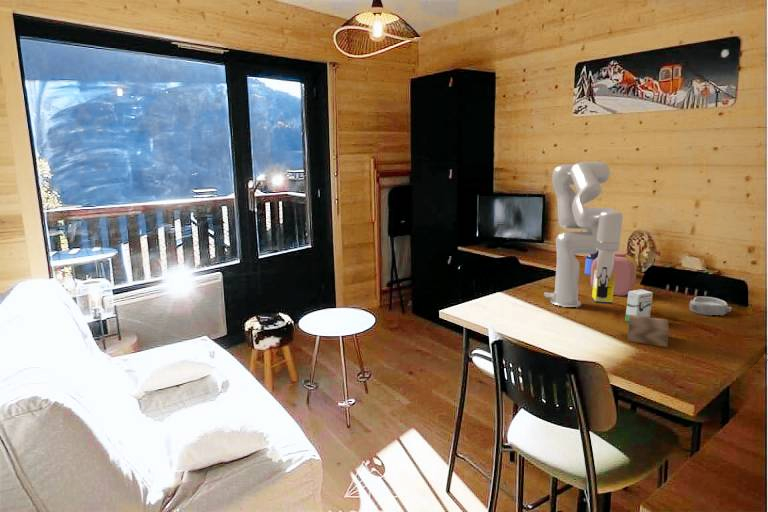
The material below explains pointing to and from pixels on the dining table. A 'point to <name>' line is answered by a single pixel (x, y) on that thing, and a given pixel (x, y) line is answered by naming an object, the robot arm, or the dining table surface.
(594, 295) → the supplement box
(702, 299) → the dish
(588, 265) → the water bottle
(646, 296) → the ink box
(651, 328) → the walnut block
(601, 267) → the robot arm
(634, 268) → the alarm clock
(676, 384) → the dining table surface
